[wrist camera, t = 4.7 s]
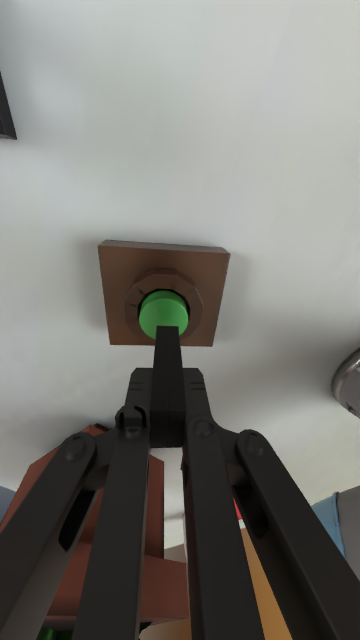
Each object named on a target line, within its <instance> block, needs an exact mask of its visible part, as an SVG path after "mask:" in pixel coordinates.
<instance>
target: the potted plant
mask: <svg viewBox="0 0 360 640" xmlns="http://www.w3.org/2000/svg"><path fill="white" fill-rule="evenodd" d="M107 431H109V429H107V428H105V427H103V426H101V425H99V424H95V425H94V426H92V425H89V426H88V427H86V428H85V429H83V430H82V431H80V432H87V433H89V434H91V435H92V436H95V435H99V434H102V433H105V432H107ZM59 447H60V446H58V447H57V448H55V449H54V450H52V451H51V452H49V453H48V454H46V455H45V456H43V457H42V458H40V459H39V460H37V461H36V462H34V463H33V464H31V465H30V466H29V468H28V470H27V472H26V474H25V476H24V478H23V480H22V482H21V484H20V486H19V488H18V490H17V492H16V494H15V496H14V498H13V500H12V502H11V504H10V506H9V508H8V510H7V512H6V514H5V516H4V518H3V520H2V521H1V523H0V533H1V532H2V530H3V529H4V527H5V526H6V524H7V523H8V522H9V520H10V519H11V517H12V516H13V514H14V513H15V511H16V510H17V508H18V507H19V505H20V504H21V502H22V501H23V499H24V498H25V497H26V495H27V494H28V492H29V491H30V489H31V488H32V486H33V485H34V483H35V482H36V480H37V479H38V477H39V476H40V474H41V473H42V472H43V470H44V469H45V467H46V466H47V464H48V463H49V461H50V460H51V458H52V457H53V455H54V454H55V452H56V451H57V449H58V448H59ZM103 491H104V487H103V488H101V489H100V492H99V494H98V496H97V499H96V501H95V503H94V506H93V508H92V510H91V513H90V515H89V517H88V519H87V522H86V524H85V526H84V529H83V531H82V533H81V536H80V538H79V540H78V543H77V545H76V547H75V550H74V552H73V554H72V557H71V559H70V561H69V564H68V566H67V568H66V571H65V573H64V575H63V578H62V580H61V582H60V584H59V587H58V589H57V591H56V594H55V596H54V598H53V601H52V603H51V605H50V608H49V610H48V612H47V615H46V617H45V619H44V622H43V624H42V626H41V629H40V631H39V633H38V636H37V638H36V640H71V639H72V635H73V630H74V625H75V621H76V616H77V611H78V607H79V602H80V598H81V593H82V588H83V584H84V579H85V575H86V570H87V565H88V561H89V556H90V551H91V547H92V542H93V538H94V533H95V528H96V524H97V519H98V514H99V510H100V505H101V501H102V496H103ZM188 617H189V614H188V597H187V579H186V563H181V562H177V561H172V560H166V559H164V461H162V460H160V459H158V458H156V457H154V456H152V455H150V466H149V482H148V498H147V514H146V530H145V547H144V563H143V579H142V595H141V611H140V627H139V634H140V633H141V631H142V630H143V629H145V628H147V627H148V626H150V625H155V624H160V623H165V622H170V621H174V620H179V619H184V618H188ZM139 640H140V639H139Z"/></svg>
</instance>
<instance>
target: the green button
mask: <svg viewBox="0 0 360 640" xmlns="http://www.w3.org/2000/svg"><path fill="white" fill-rule="evenodd" d="M139 323H140V326H141V328H142V330H143V331H144V332H145V333H146V334H147V335H148V336H149V337H151V338H153V339H156V328H157V325H158V326H179V336H180V335H181V334H182V333H183V332H184V330H185V329H186V327H187V324H188V314H187V309H186V305H185V303H184V301H183V299H182V298H181V297H180V296H179V295H177V294H175V293H173V292H171V291H157V292H154V293H152V294H150V295H149V296H148V297H147V298H146V299H145V300H144V302H143V304H142V307H141V312H140V316H139Z"/></svg>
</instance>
